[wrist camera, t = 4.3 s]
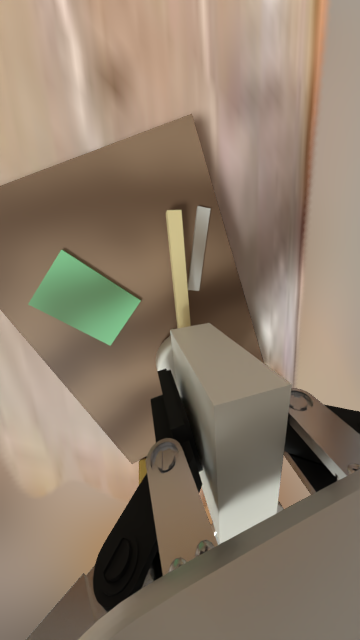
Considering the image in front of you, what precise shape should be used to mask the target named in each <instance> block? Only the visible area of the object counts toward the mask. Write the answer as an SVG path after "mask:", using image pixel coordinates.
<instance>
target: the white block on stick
mask: <svg viewBox="0 0 360 640" xmlns="http://www.w3.org/2000/svg"><path fill="white" fill-rule="evenodd" d="M166 222H167V232H168V242H169V251H170V261H171V271H172V280H173V290H174V299H175V309H176V319H177V329H171V330H170V334H171V336H169V337H168V338H167V339H166V340H164V342H163V343H162V344H161V345H160V347H159V349H158V351H157V354H156V367H157V371H160V370H163V369H167V370H171V372H172V375H173V378H174V381H175V383H176V386H177V389H178V392H179V394H180V397H181V400H182V403H183V406H184V408H185V411H186V414H187V417H188V420H189V423H190V426H191V429H192V433H193V436H194V440H195V444H196V447H197V451H198V454H199V458H200V461H201V465H202V469H203V470H202V471H200V472H199V474H200V478H201V481H202V489H203V492H204V495H205V499H206V502H207V505H208V508H209V511H210V515H211V518H212V521H213V524H214V527H215V531H216V534H217V537H218V540H219V544H221V543H223V542H225V541H227V540H229V539H230V538H232V537H234V536H236V535H238V534H240V533H241V532H243V531H245V530H247V529H249V528H251V527H252V526H254V525H256V524H258V523H260V522H262V521H263V520H265V519H267V518H269V517H271V516H273V515H275V514H277V505H278V496H279V488H280V479H281V471H282V463H283V455H284V446H285V438H286V429H287V421H288V412H289V404H290V395H291V387H292V384H291V383H289V382H288V381H287V380H285V379H284V378H283V377H281V376H280V375H279V374H277V373H276V372H275V371H273V370H272V369H271V368H269V367H268V366H267V365H265V364H264V363H263V362H261V361H260V360H259V359H257V358H256V357H255V356H253V355H252V354H250V353H249V352H248V351H246V350H245V349H244V348H242V347H241V346H240V345H238V344H237V343H236V342H234V341H233V340H232V339H230V338H229V337H228V336H226V335H225V334H224V333H222V332H221V331H220V330H218V329H217V328H216V327H214V326H213V325H211V324H210V323H206V324H200V325H194V326H191V325H190V312H189V299H188V287H187V274H186V261H185V249H184V236H183V223H182V211H181V210H167V211H166Z"/></svg>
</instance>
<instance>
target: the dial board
mask: <svg viewBox="0 0 360 640" xmlns="http://www.w3.org/2000/svg"><path fill="white" fill-rule="evenodd" d="M167 210H181V211H182V223H183V236H184V249H185V261H186V274H187V287H188V299H189V312H190V325H191V326H194V325H200V324H206V323H210V324H211V325H213V326H214V327H216V328H217V329H218V330H220V331H221V332H222V333H224V334H225V335H226V336H228V337H229V338H230V339H232V340H233V341H234V342H236V343H237V344H238V345H240V346H241V347H242V348H244V349H245V350H246V351H248V352H249V353H250V354H252V355H253V356H255V357H256V358H257V359H259V360H260V361H261V362H263V358H262V355H261V351H260V348H259V344H258V341H257V338H256V334H255V331H254V327H253V324H252V320H251V317H250V313H249V310H248V306H247V303H246V299H245V296H244V293H243V289H242V286H241V282H240V279H239V275H238V272H237V268H236V265H235V261H234V258H233V254H232V251H231V248H230V244H229V241H228V237H227V234H226V230H225V227H224V223H223V220H222V216H221V213H220V209H219V206H218V203H217V199H216V196H215V192H214V189H213V185H212V182H211V178H210V175H209V171H208V168H207V164H206V161H205V158H204V154H203V151H202V147H201V144H200V140H199V137H198V133H197V130H196V126H195V123H194V119H193V116H192V114H190V115H187V116H185V117H182V118H180V119H177V120H174V121H172V122H169V123H166V124H164V125H161V126H158V127H156V128H153V129H150V130H148V131H145V132H142V133H140V134H137V135H134V136H132V137H129V138H126V139H124V140H121V141H118V142H116V143H113V144H111V145H108V146H105V147H103V148H100V149H97V150H95V151H92V152H89V153H87V154H84V155H81V156H79V157H76V158H73V159H71V160H68V161H65V162H63V163H60V164H57V165H55V166H52V167H49V168H47V169H44V170H42V171H39V172H36V173H34V174H31V175H28V176H26V177H23V178H20V179H18V180H15V181H12V182H10V183H7V184H4V185H2V186H0V310H1V311H2V312H3V313H4V314H5V316H6V317H7V318H8V319H9V320H10V321H11V323H12V324H13V325H14V326H15V327H16V328H17V330H18V331H19V332H20V333H21V334H22V336H23V337H24V338H25V339H26V340H27V341H28V343H29V344H30V345H31V346H32V347H33V348H34V350H35V351H36V352H37V353H38V354H39V355H40V357H41V358H42V359H43V360H44V361H45V363H46V364H47V365H48V366H49V367H50V368H51V370H52V371H53V372H54V373H55V374H56V375H57V377H58V378H59V379H60V380H61V381H62V383H63V384H64V385H65V386H66V387H67V388H68V390H69V391H70V392H71V393H72V394H73V395H74V397H75V398H76V399H77V400H78V401H79V402H80V404H81V405H82V406H83V407H84V408H85V410H86V411H87V412H88V413H89V414H90V415H91V417H92V418H93V419H94V420H95V421H96V422H97V424H98V425H99V426H100V427H101V428H102V429H103V431H104V432H105V433H106V434H107V435H108V437H109V438H110V439H111V440H112V441H113V442H114V444H115V445H116V446H117V447H118V448H119V449H120V451H121V452H122V453H123V454H124V455H125V456H126V458H127V459H128V460H129V461H130V462H131V464H133V463H135V462H137V461H138V460H140V459H142V458H144V457H145V456H147V454H148V452H149V450H150V449H151V447H152V446H153V445H154V444H155V443H156V439H155V431H154V424H153V416H152V408H151V399H152V398H154V397H157V396H160V395H162V390H161V385H160V381H159V376H158V372H157V367H156V354H157V351H158V349H159V347H160V345H161V344H162V343H163V342H164V340H166V339H167V338H168V337H169V336H171V334H170V330H171V329H177V319H176V309H175V299H174V290H173V280H172V271H171V261H170V251H169V242H168V232H167V222H166V211H167ZM263 363H264V362H263Z"/></svg>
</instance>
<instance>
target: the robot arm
mask: <svg viewBox="0 0 360 640" xmlns="http://www.w3.org/2000/svg"><path fill="white" fill-rule="evenodd" d="M157 372H158V376H159V381H160V385H161V390H162V395H160V396H157V397H154V398H152V399H151V408H152V416H153V424H154V431H155V439H156V443H155V444H154V445H153V446H152V447H151V449H150V450H149V452H148V454H147V458H146V469H147V473H146V475H145V476H144V478H143V480H142V481H141V483H140V485H139V486H138V488H137V490H136V491H135V493H134V495H133V496H132V498H131V500H130V501H129V503H128V505H127V506H126V508H125V510H124V511H123V513H122V515H121V516H120V518H119V519H118V521H117V523H116V524H115V526H114V528H113V529H112V531H111V533H110V534H109V536H108V538H107V539H106V541H105V543H104V544H103V547H102V548H101V550H100V552H99V554H98V557H97V561H96V564H95V566H94V567H93V568H92V569H91V570H90V572H89V573H88V574H87V575H85V574H84V573H83V574H82V576H81V577H80V578H79V579H78V580H77V581H76V583H75V584H74V585H73V586H72V587H71V588H70V589H69V590H68V592H67V593H66V594H65V595H64V596H63V597H62V599H61V600H60V601H59V602H58V603H57V604H56V605H55V607H54V608H53V609H52V610H51V611H50V612H49V614H48V615H47V616H46V617H45V618H44V619H43V621H42V622H41V623H40V624H39V625H38V626H37V628H36V629H35V630H34V631H33V632H32V633H31V634H30V635H29V637H28V638H27V639H26V640H360V412H359V411H353V410H348V409H343V408H338V407H333V406H328V405H323V404H322V403H321V402H320V401H319V400H317V399H316V398H315V397H314V396H312V395H311V394H310V393H308V392H306V391H304V390H301V389H297V388H291V395H290V404H289V412H288V421H287V429H286V438H285V446H284V456H285V458H286V459H287V460H288V462H289V463H290V465H291V466H292V468H293V469H294V471H295V472H296V473H297V475H298V476H299V478H300V479H301V481H302V482H303V484H304V485H305V486H306V488H307V489H308V491H309V492H310V494H311V495H310V496H308V497H307V498H305V499H303V500H301V501H299V502H297V503H295V504H293V505H291V506H290V507H288V508H286V509H283V507H282V505H281V504H280V502H279V501H278V505H277V514H275V515H273V516H271V517H269V518H267V519H265V520H263V521H262V522H260V523H258V524H256V525H254V526H252V527H251V528H249V529H247V530H245V531H243V532H241V533H240V534H238V535H236V536H234V537H232V538H230V539H229V540H227V541H225V542H223V543H221V544H219V540H218V537H217V534H216V531H215V527H214V524H212V525H211V524H210V522H209V519H208V517H207V514H206V511H205V508H204V506H203V503H202V500H201V498H200V495H199V492H200V489H201V486H202V481H201V478H200V474H199V472H200V471H202V470H203V469H202V465H201V461H200V458H199V454H198V451H197V447H196V444H195V440H194V436H193V433H192V429H191V426H190V423H189V420H188V417H187V414H186V411H185V408H184V406H183V403H182V400H181V397H180V394H179V392H178V389H177V386H176V383H175V381H174V378H173V375H172V372H171V370H167V369H163V370H160V371H157Z"/></svg>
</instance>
